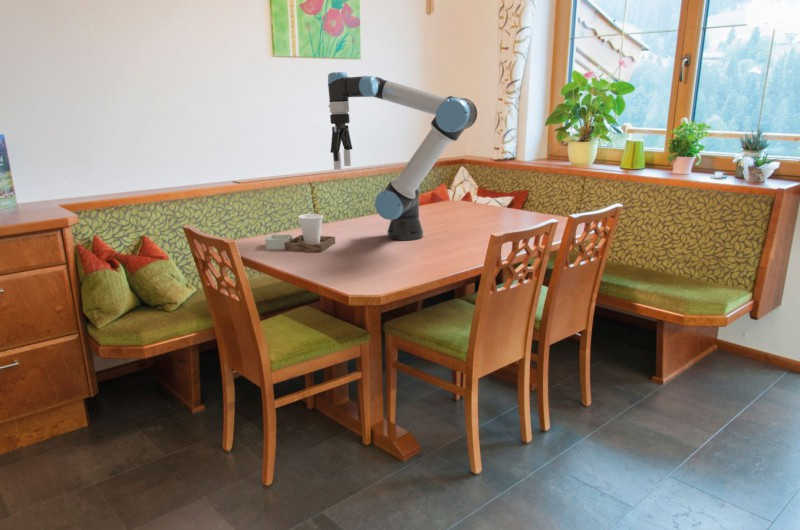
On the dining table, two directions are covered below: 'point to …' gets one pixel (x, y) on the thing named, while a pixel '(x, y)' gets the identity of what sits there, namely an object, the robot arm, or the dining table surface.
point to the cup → (311, 227)
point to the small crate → (277, 241)
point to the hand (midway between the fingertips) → (342, 167)
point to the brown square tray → (299, 244)
